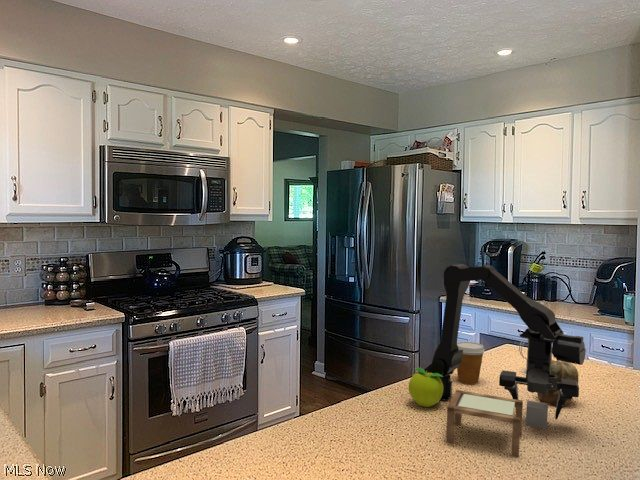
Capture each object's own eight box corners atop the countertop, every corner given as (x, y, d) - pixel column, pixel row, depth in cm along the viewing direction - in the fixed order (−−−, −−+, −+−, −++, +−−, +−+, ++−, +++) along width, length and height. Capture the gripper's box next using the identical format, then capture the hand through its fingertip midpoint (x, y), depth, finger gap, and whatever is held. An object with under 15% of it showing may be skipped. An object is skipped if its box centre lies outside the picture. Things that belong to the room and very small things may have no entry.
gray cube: (525, 425, 130) (526, 406, 130) (526, 418, 134) (527, 400, 134) (546, 429, 128) (547, 410, 127) (547, 422, 132) (547, 403, 132)
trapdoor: (456, 409, 120) (456, 405, 120) (462, 397, 128) (462, 393, 128) (512, 419, 114) (512, 415, 114) (514, 405, 123) (514, 401, 123)
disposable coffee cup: (477, 376, 168) (478, 341, 168) (487, 386, 159) (489, 349, 158) (449, 376, 168) (450, 341, 167) (458, 386, 158) (459, 348, 158)
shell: (582, 410, 141) (584, 368, 140) (540, 406, 143) (542, 364, 142) (571, 396, 151) (573, 357, 151) (532, 393, 154) (534, 354, 153)
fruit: (420, 396, 149) (421, 363, 148) (448, 405, 142) (449, 370, 141) (401, 404, 142) (402, 369, 142) (430, 414, 136) (431, 377, 135)
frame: (446, 442, 119) (447, 407, 119) (455, 422, 131) (456, 389, 130) (518, 457, 112) (520, 419, 112) (521, 434, 124) (522, 400, 124)
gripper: (498, 359, 127) (496, 420, 127) (581, 370, 119) (578, 434, 120) (502, 349, 137) (499, 405, 138) (578, 358, 129) (576, 417, 130)
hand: (536, 415), depth 131 cm, fingers open, 9 cm apart
